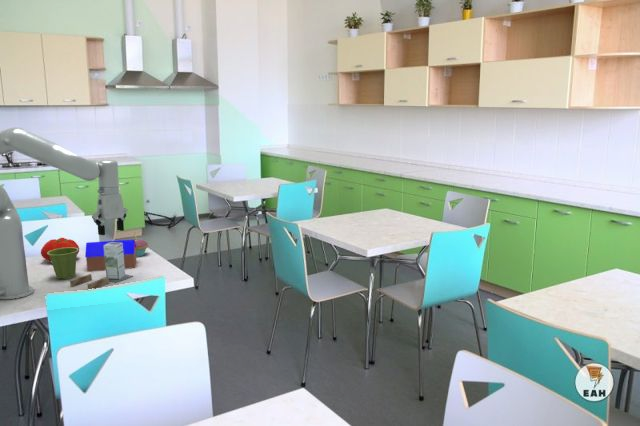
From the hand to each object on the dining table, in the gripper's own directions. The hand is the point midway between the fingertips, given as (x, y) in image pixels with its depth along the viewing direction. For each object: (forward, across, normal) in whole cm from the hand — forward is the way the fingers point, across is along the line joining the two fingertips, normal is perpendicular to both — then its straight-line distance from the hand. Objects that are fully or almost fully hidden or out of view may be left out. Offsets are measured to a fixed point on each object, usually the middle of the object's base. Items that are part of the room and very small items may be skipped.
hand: (111, 232), depth 223 cm
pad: (+20, +1, -1) cm, 20 cm away
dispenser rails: (+20, -10, +2) cm, 22 cm away
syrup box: (+19, +1, -1) cm, 19 cm away
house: (+20, +13, +15) cm, 28 cm away
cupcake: (+19, +32, +17) cm, 41 cm away
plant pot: (+20, -7, +20) cm, 30 cm away
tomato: (+20, +9, +43) cm, 49 cm away
